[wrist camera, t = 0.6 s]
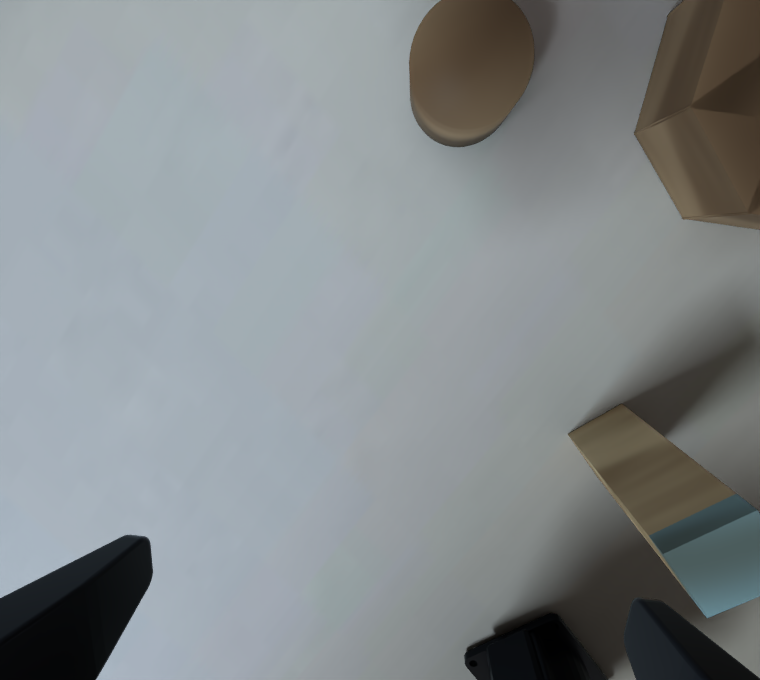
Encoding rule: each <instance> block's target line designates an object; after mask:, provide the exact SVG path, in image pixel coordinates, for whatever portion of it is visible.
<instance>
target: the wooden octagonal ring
mask: <svg viewBox="0 0 760 680" xmlns="http://www.w3.org/2000/svg"><path fill="white" fill-rule="evenodd" d="M667 17H668V18H667V21H666V25H665V28H664V32H663V35H662V39H661V42H660V46H659V49H658V53H657V56H656V60H655V63H654V67H653V70H652V74H651V77H650V81H649V84H648V88H647V91H646V95H645V98H644V102H643V105H642V109H641V112H640V116H639V119H638V123H637V126H636V130H635V132H634V135H635V136H636V138H637V139H638V141H639V143H640V145H641V146H642V148H643V150H644V152H645V153H646V155H647V157H648V159H649V160H650V162H651V164H652V166H653V167H654V169H655V171H656V172H657V174H658V176H659V178H660V179H661V181H662V183H663V185H664V186H665V188H666V190H667V192H668V193H669V195H670V197H671V199H672V200H673V202H674V204H675V206H676V207H677V209H678V211H679V213H680V214H681V216H682V219H689V220H696V221H703V222H710V223H717V224H724V225H731V226H738V227H744V228H751V229H758V230H760V0H684V1H683V2H682V3H680V4H679V5H678V6H677V7H676V8H675V9H674V10H673V11H671V12H670V13H669V14H668V16H667Z"/></svg>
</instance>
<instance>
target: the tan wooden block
mask: <svg viewBox="0 0 760 680" xmlns="http://www.w3.org/2000/svg"><path fill="white" fill-rule="evenodd" d="M568 435H569V437H570V438H571V440H572V441H573V442H574V444H575V445H576V447H577V448H578V450H579V451H580V453H581V454H582V455H583V457H584V458H585V460H586V461H587V463H588V464H589V466H590V467H591V468H592V470H593V471H594V473H595V474H596V476H597V477H598V478H599V480H600V481H601V482H602V484H603V485H604V486H605V487H606V489H607V490H608V491H609V493H610V494H611V495H612V496H613V498H614V499H615V500H616V502H617V503H618V504H619V505H620V507H621V508H622V509H623V511H624V512H625V513H626V514H627V516H628V517H629V518H630V520H631V521H632V522H633V523H634V525H635V526H636V527H637V529H638V530H639V531H640V532H641V534H642V535H643V536H644V538H645V539H646V540H647V542H648V543H649V544H650V545H651V547H652V548H653V549H654V551H655V552H656V553H657V554H658V556H659V557H660V558H661V560H662V561H663V562H664V563H665V565H666V566H667V567H668V569H669V570H670V571H671V572H672V574H673V575H674V576H675V578H676V579H677V580H678V581H679V583H680V584H681V585H682V587H683V588H684V589H685V590H686V592H687V593H688V594H689V596H690V597H691V598H692V600H693V601H694V602H695V603H696V605H697V606H698V607H699V609H700V610H701V611H702V612H703V614H704V615H705V616H706V618H709V617H711V616H714V615H716V614H719V613H721V612H723V611H726V610H728V609H731V608H733V607H735V606H738V605H740V604H742V603H745V602H747V601H750V600H752V599H754V598H757V597H759V596H760V513H759V512H758V510H757V509H755V508H754V507H753V506H752V505H750V504H749V503H748V502H747V501H745V500H744V499H743V498H741V497H740V496H739V495H738V494H736V493H735V492H734V491H732V490H731V489H730V488H729V487H727V486H726V485H725V484H724V483H722V482H721V481H720V480H718V479H717V478H716V477H715V476H713V475H712V474H711V473H710V472H708V471H707V470H706V469H704V468H703V467H702V466H701V465H699V464H698V463H697V462H696V461H694V460H693V459H692V458H690V457H689V456H688V455H687V454H685V453H684V452H683V451H682V450H680V449H679V448H678V447H676V446H675V445H674V444H673V443H671V442H670V441H669V440H668V439H666V438H665V437H664V436H662V435H661V434H660V433H659V432H657V431H656V430H655V429H653V428H652V427H651V426H650V425H648V424H647V423H646V422H645V421H643V420H642V419H641V418H639V417H638V416H637V415H636V414H634V413H633V412H632V411H631V410H629V409H628V408H627V407H625V406H624V405H623V404H620V405H618V406H617V407H615V408H613V409H611V410H610V411H608V412H606V413H604V414H603V415H601V416H599V417H597V418H595V419H594V420H592V421H590V422H588V423H587V424H585V425H583V426H581V427H580V428H578V429H576V430H574V431H572V432H571V433H569V434H568Z"/></svg>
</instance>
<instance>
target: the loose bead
mask: <svg viewBox="0 0 760 680" xmlns="http://www.w3.org/2000/svg"><path fill="white" fill-rule="evenodd" d="M533 64H534V40H533V35H532V31H531V28H530V25H529V23H528V21H527V19H526V17H525V15H524V14H523V12H522V11H521V9H520V8H519V7H518V6H517V5H516V4H515V3H514V2H513V1H512V0H441V1H440V2H438V3H437V4H436V5H435V6H434V7H433V8H432V9H431V10H430V11H429V12H428V13H427V15H426V16H425V17H424V19H423V20H422V22H421V24H420V25H419V27H418V29H417V31H416V34H415V36H414V39H413V42H412V46H411V51H410V60H409V71H410V101H411V107H412V111H413V114H414V117H415V119H416V121H417V123H418V125H419V126H420V127H421V129H422V130H423V131H424V132H425V133H426V134H427V135H428V136H429V137H430V138H431V139H433V140H434V141H436V142H438V143H440V144H443V145H446V146H451V147H465V146H470V145H473V144H476V143H478V142H480V141H482V140H484V139H486V138H487V137H488V136H490V135H491V134H492V133H493V132H494V131H495V130H496V129H497V128H498V127H499V126H500V125H501V123H502V122H503V121H504V119H505V118H506V117H507V115H508V114H509V113H510V111H511V110H512V108H513V107H514V106H515V104H516V103H517V102H518V100H519V99H520V97H521V96H522V94H523V93H524V91H525V89H526V87H527V85H528V82H529V80H530V77H531V73H532V70H533Z"/></svg>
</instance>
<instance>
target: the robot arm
mask: <svg viewBox="0 0 760 680" xmlns="http://www.w3.org/2000/svg"><path fill="white" fill-rule="evenodd" d="M152 575H153V567H152V556H151V545H150V541H149V539H148V538H147V537H144V536H137V535H125V536H123V537H121V538H119V539H117V540H115V541H113V542H111V543H109V544H107V545H105V546H103V547H101V548H99V549H97V550H95V551H93V552H91V553H89V554H87V555H85V556H83V557H81V558H79V559H77V560H75V561H73V562H71V563H69V564H67V565H65V566H63V567H61V568H59V569H57V570H55V571H53V572H51V573H49V574H47V575H45V576H43V577H41V578H40V579H38V580H36V581H34V582H32V583H30V584H28V585H26V586H24V587H22V588H20V589H18V590H16V591H14V592H12V593H10V594H8V595H6V596H4V597H2V598H0V680H96V678H97V677H98V675H99V673H100V672H101V670H102V668H103V667H104V665H105V663H106V662H107V660H108V658H109V656H110V655H111V653H112V651H113V649H114V647H115V646H116V644H117V642H118V640H119V639H120V637H121V635H122V633H123V631H124V630H125V628H126V626H127V624H128V623H129V621H130V619H131V617H132V615H133V614H134V612H135V610H136V608H137V607H138V605H139V603H140V601H141V599H142V598H143V596H144V594H145V592H146V591H147V589H148V587H149V585H150V582H151V579H152ZM624 644H625V648H626V652H627V655H628V657H629V660H630V663H631V666H632V669H633V672H634V675H635V678H636V680H760V678H759V677H757V676H756V675H755V674H754V673H752V672H751V671H750V670H749V669H747V668H746V667H745V666H743V665H742V664H741V663H740V662H738V661H737V660H736V659H735V658H733V657H732V656H731V655H730V654H728V653H727V652H726V651H725V650H723V649H722V648H721V647H720V646H718V645H717V644H716V643H714V642H713V641H712V640H711V639H709V638H708V637H707V636H706V635H704V634H703V633H702V632H701V631H699V630H698V629H697V628H696V627H694V626H693V625H692V624H690V623H689V622H688V621H687V620H685V619H684V618H683V617H682V616H680V615H679V614H678V613H677V612H675V611H674V610H673V609H672V608H670V607H669V606H668V605H666V604H665V603H664V602H662V601H660V600H657V599H649V598H641V597H638V598H635V599H634V600H633V601H632V604H631V607H630V611H629V615H628V619H627V623H626V627H625V631H624ZM464 658H465V665H466V667H467V668H468V669H469V670H470V672H471V673H472V674H473V675H474V676H475V677H476V679H477V680H608V679H607V677H606V676H605V675H604V673H603V672H602V671H601V670H600V668H599V667H598V666H597V664H596V663H595V662H594V660H593V659H592V658H591V657H590V655H589V654H588V653H587V651H586V650H585V649H584V647H583V646H582V645H581V644H580V642H579V641H578V640H577V638H576V637H575V636H574V634H573V633H572V632H571V631H570V629H569V628H568V627H567V625H566V624H565V623H564V621H563V620H562V619H561V618H560V616H558V615H557V614H548V615H546V616H543V617H541V618H539V619H537V620H535V621H533V622H530V623H528V624H526V625H524V626H522V627H520V628H517V629H515V630H513V631H511V632H509V633H507V634H504V635H502V636H500V637H498V638H496V639H494V640H491V641H489V642H487V643H485V644H483V645H481V646H478V647H476V648H474V649H472V650H470V651H468V652H466V653H465V655H464Z"/></svg>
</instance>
